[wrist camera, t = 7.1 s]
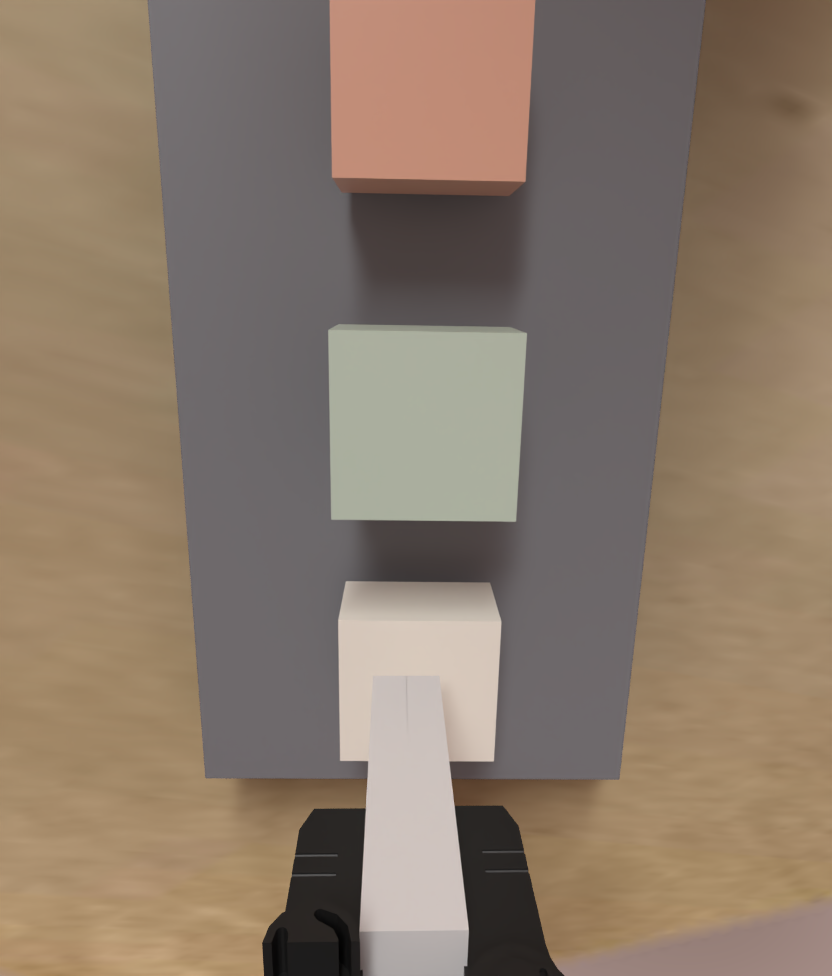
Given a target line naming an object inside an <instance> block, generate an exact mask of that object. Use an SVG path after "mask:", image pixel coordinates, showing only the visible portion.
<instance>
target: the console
mask: <svg viewBox="0 0 832 976" xmlns="http://www.w3.org/2000/svg"><path fill="white" fill-rule="evenodd" d="M705 3H706V0H535V16H534V35H533V53H532V71H531V90H530V108H529V126H528V145H527V163H526V181H525V183H523V184H522V185H521V186H520V187H519V188H518V189H516V190H515V191H514V192H513V193H512V194H511V195H510V196H480V195H432V194H383V193H342V192H341V191H340V189H339V188H338V186H337V185H336V183H335V181H334V180H333V178H332V142H331V70H330V0H148V11H149V25H150V38H151V52H152V65H153V79H154V92H155V105H156V119H157V132H158V146H159V159H160V173H161V186H162V200H163V213H164V227H165V240H166V253H167V267H168V280H169V294H170V307H171V321H172V334H173V348H174V361H175V375H176V388H177V402H178V415H179V428H180V442H181V455H182V469H183V482H184V496H185V509H186V523H187V536H188V550H189V563H190V576H191V590H192V603H193V617H194V630H195V644H196V657H197V671H198V684H199V698H200V711H201V725H202V738H203V751H204V765H205V778H302V779H368V761H340V719H339V646H338V618H339V613H340V608H341V603H342V598H343V593H344V588H345V583H346V581H376V582H487V583H490V584H491V588H492V591H493V594H494V598H495V601H496V605H497V608H498V611H499V615H500V618H501V640H500V658H499V677H498V695H497V713H496V732H495V750H494V761H449V764H450V772H451V779H614V780H619V777H620V768H621V759H622V750H623V741H624V732H625V723H626V714H627V705H628V696H629V687H630V678H631V669H632V660H633V651H634V642H635V633H636V624H637V615H638V606H639V597H640V588H641V579H642V570H643V561H644V552H645V543H646V534H647V525H648V516H649V507H650V498H651V489H652V480H653V471H654V462H655V453H656V444H657V435H658V426H659V417H660V408H661V399H662V390H663V381H664V372H665V363H666V354H667V345H668V336H669V327H670V318H671V309H672V300H673V291H674V282H675V273H676V264H677V255H678V246H679V237H680V228H681V219H682V210H683V201H684V192H685V183H686V174H687V165H688V156H689V147H690V138H691V129H692V120H693V111H694V102H695V93H696V84H697V75H698V66H699V57H700V48H701V39H702V30H703V21H704V12H705ZM338 324H360V325H421V326H481V327H511V328H514V329H517V330H519V331H522V332H525V333H527V342H526V359H525V376H524V394H523V411H522V428H521V445H520V462H519V480H518V497H517V514H516V522H503V521H411V520H331V474H330V411H329V349H328V330H329V329H331V328H333V327H334V326H336V325H338Z"/></svg>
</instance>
